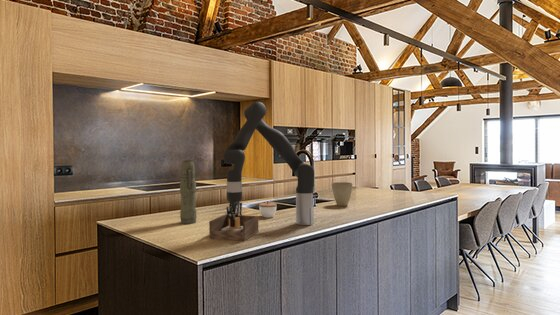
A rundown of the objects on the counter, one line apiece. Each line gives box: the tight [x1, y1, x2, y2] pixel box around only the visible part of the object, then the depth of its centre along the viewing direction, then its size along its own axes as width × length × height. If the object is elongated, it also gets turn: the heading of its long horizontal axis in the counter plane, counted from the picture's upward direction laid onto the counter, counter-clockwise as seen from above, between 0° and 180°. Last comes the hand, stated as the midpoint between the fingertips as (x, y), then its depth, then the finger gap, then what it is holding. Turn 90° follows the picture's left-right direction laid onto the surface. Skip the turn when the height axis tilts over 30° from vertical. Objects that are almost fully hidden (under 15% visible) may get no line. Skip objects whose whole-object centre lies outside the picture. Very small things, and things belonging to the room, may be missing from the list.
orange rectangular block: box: [229, 217, 240, 229], centre depth 184 cm, size 4×4×8 cm
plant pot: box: [331, 181, 354, 207], centre depth 270 cm, size 15×15×16 cm
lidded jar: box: [258, 201, 278, 219], centre depth 229 cm, size 11×11×9 cm
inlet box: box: [208, 213, 259, 242], centre depth 184 cm, size 18×18×8 cm
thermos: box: [179, 160, 198, 225], centre depth 213 cm, size 9×12×35 cm
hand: (234, 225), depth 184 cm, fingers open, 4 cm apart
